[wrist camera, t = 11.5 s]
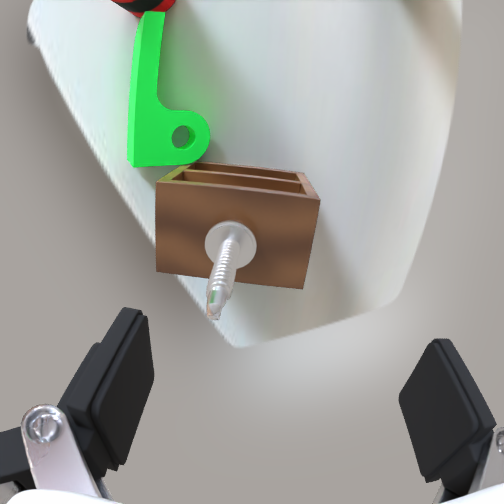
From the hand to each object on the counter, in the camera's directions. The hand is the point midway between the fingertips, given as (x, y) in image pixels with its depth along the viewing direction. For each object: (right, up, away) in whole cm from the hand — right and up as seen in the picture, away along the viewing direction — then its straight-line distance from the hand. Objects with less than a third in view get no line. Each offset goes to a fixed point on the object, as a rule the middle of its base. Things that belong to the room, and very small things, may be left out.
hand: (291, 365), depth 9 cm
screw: (-3, +5, +22) cm, 23 cm away
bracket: (-12, +26, +28) cm, 40 cm away
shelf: (-3, +11, +35) cm, 36 cm away
